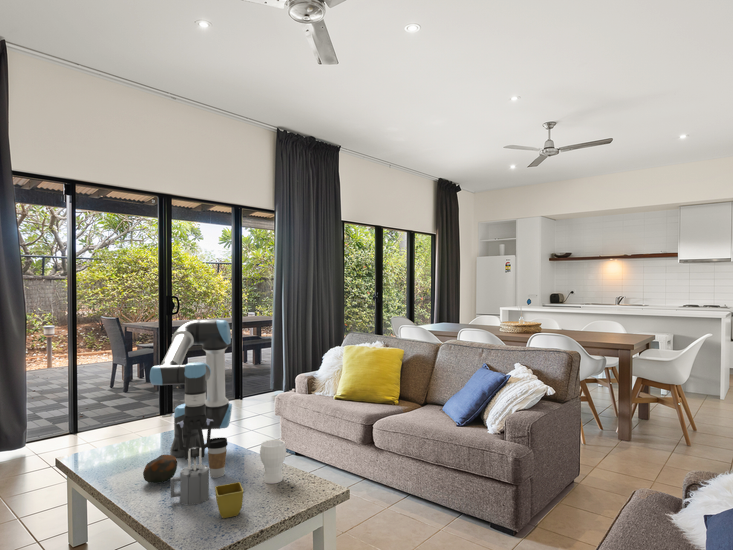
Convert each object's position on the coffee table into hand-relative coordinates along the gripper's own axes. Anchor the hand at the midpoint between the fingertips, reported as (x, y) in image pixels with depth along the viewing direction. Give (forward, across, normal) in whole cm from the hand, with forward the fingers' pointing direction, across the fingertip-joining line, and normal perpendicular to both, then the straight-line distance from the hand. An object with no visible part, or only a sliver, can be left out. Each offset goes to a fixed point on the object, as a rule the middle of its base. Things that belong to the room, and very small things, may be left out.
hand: (194, 466), depth 175 cm
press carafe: (+12, -2, 0) cm, 12 cm away
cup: (+12, +30, +8) cm, 33 cm away
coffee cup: (+12, +8, +21) cm, 26 cm away
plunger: (+10, 0, 0) cm, 10 cm away
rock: (+12, -14, +21) cm, 28 cm away
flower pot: (+12, +12, -17) cm, 24 cm away
